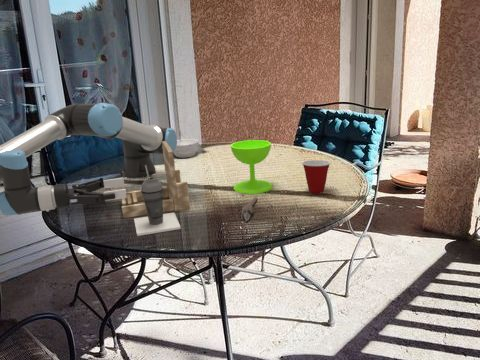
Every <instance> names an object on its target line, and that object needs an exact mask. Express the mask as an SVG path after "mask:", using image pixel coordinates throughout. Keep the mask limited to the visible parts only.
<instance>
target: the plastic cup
mask: <svg viewBox="0 0 480 360" xmlns="http://www.w3.org/2000/svg"><path fill="white" fill-rule="evenodd" d="M301 164H302V167H303V169H304V175H305V179H306V184H307V188H308V192H309V193H310V194H315V195H319V194H323V193H324V192H325V188H326V182H327V178H328V171H329V169H330V165H331V161H329V160H325V159H323V160H322V159H308V160H304V161H302V162H301Z"/></svg>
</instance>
